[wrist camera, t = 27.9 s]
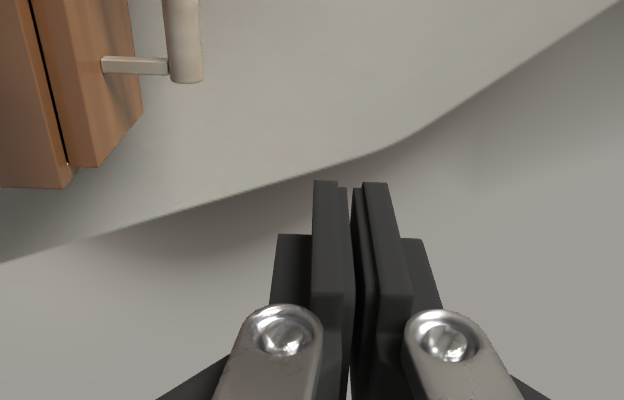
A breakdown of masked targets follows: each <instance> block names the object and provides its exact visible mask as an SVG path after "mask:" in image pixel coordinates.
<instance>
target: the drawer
mask: <svg viewBox="0 0 624 400" xmlns="http://www.w3.org/2000/svg"><path fill="white" fill-rule="evenodd" d="M28 4H29V8H30V12H31V17H32V21H33V25H34V29H35V33H36V38H37V42H38V46H39V50H40V54H41V59H42V63H43V67H44V71H45V75H46V79H47V84H48V88H49V92H50V96H51V100H52V105H53V109H54V113H55V117H56V121H57V126H58V128H59V127H61V131H62V135H63V139H64V143H65V148H66V152H67V156H68V160H69V165H70V167H92V168H98V167H99V166H100V165H101V163H102V162H103V161H104V160H105V158H106V157H107V156H108V155H109V154H110V152H111V151H112V150H113V149H114V147H115V146H116V145H117V144H118V143H119V141H120V140H121V139H122V138H123V137H124V135H125V134H126V133H127V132H128V130H129V129H130V128H131V127H132V126H133V124H134V123H135V122H136V121H137V119H138V118H139V117H140V116H141V115H142V113H143V107H142V100H141V93H140V86H139V79H138V74H141V75H169V74H170V79H171V81H172V82H175V83H179V84H193V83H197V82H200V81H202V80H203V79H204V70H203V57H202V44H201V31H200V18H199V5H198V0H162V9H163V18H164V27H165V36H166V45H167V54H168V58H150V57H135V52H134V45H133V38H132V31H131V24H130V17H129V10H128V3H127V0H28Z"/></svg>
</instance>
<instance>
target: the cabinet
mask: <svg viewBox="0 0 624 400" xmlns="http://www.w3.org/2000/svg"><path fill="white" fill-rule="evenodd" d="M81 168H82V167H70V165H69V160H68V156H67V152H66V148H65V143H64V139H63V135H62V131H61V127H59V128H58V126H57V121H56V117H55V113H54V109H53V105H52V100H51V96H50V92H49V88H48V84H47V79H46V75H45V71H44V67H43V63H42V59H41V54H40V50H39V46H38V42H37V38H36V33H35V29H34V25H33V21H32V17H31V12H30V8H29V4H28V0H0V187H12V188H37V189H64V188H65V186H66V185H67V184H68V183H69V182H70V180H71V179H72V178H73V177H74V176H75V175H76V174H77V173H78V171H79V170H80V169H81Z"/></svg>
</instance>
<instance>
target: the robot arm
mask: <svg viewBox="0 0 624 400" xmlns="http://www.w3.org/2000/svg"><path fill="white" fill-rule="evenodd" d="M312 217H313V218H312V235H301V234H278V239H277V246H276V255H275V262H274V270H273V277H272V285H271V292H270V301H269V305H267V306H264V307H262V308H260V309H258V310H255V311H254V312H253V313H252V314H250V315H249V316H248V317H247V318H246V320H245V321H244V323H243V324H242V326H241V328H240V331H239V334H238V336H237V338H236V341H235V343H234V346H233V348H232V351H231V353H230V354H229V355H227V356H225V357H224V358H223V359H221V360H219V361H217V362H216V363H214V364H212V365H211V366H209V367H208V368H206V369H204V370H203V371H201V372H200V373H198V374H196V375H195V376H193V377H192V378H190V379H188V380H187V381H185V382H183V383H182V384H180V385H179V386H177V387H175V388H174V389H172V390H171V391H169V392H167V393H166V394H164V395H163V396H161V397H159V398H158V399H156V400H346V394H347V384H348V374H349V365H350V381H351V395H352V400H550V399H549V398H547V397H546V396H544V395H542V394H541V393H539V392H538V391H536V390H534V389H533V388H531V387H529V386H528V385H526V384H525V383H523V382H521V381H520V380H518V379H517V378H515V377H513V376H512V375H510V374H509V373H508V371H507V369H506V367H505V366H504V364H503V362H502V361H501V359H500V357H499V356H498V354H497V352H496V351H495V349H494V347H493V346H492V344H491V342H490V341H489V339H488V337H487V335H486V334H485V333H484V331H483V330H482V329H481V328H480V327H479V325H478V324H476V323H475V322H473V321H472V320H471V319H469V318H468V317H466V316H463V315H461V314H459V313H457V312H453V311H448V310H445V309H443V306H442V303H441V300H440V297H439V293H438V290H437V287H436V284H435V280H434V277H433V274H432V270H431V267H430V264H429V261H428V257H427V254H426V251H425V248H424V244H423V242H422V240H421V239H412V238H400V235H399V230H398V226H397V222H396V218H395V214H394V209H393V205H392V201H391V197H390V193H389V189H388V185H387V183H379V182H378V183H377V182H363V183H362V188H353V195H352V206H351V219H350V221H349V210H348V200H347V189H346V187H338V183H337V181H324V180H322V181H321V180H314V191H313V215H312Z"/></svg>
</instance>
